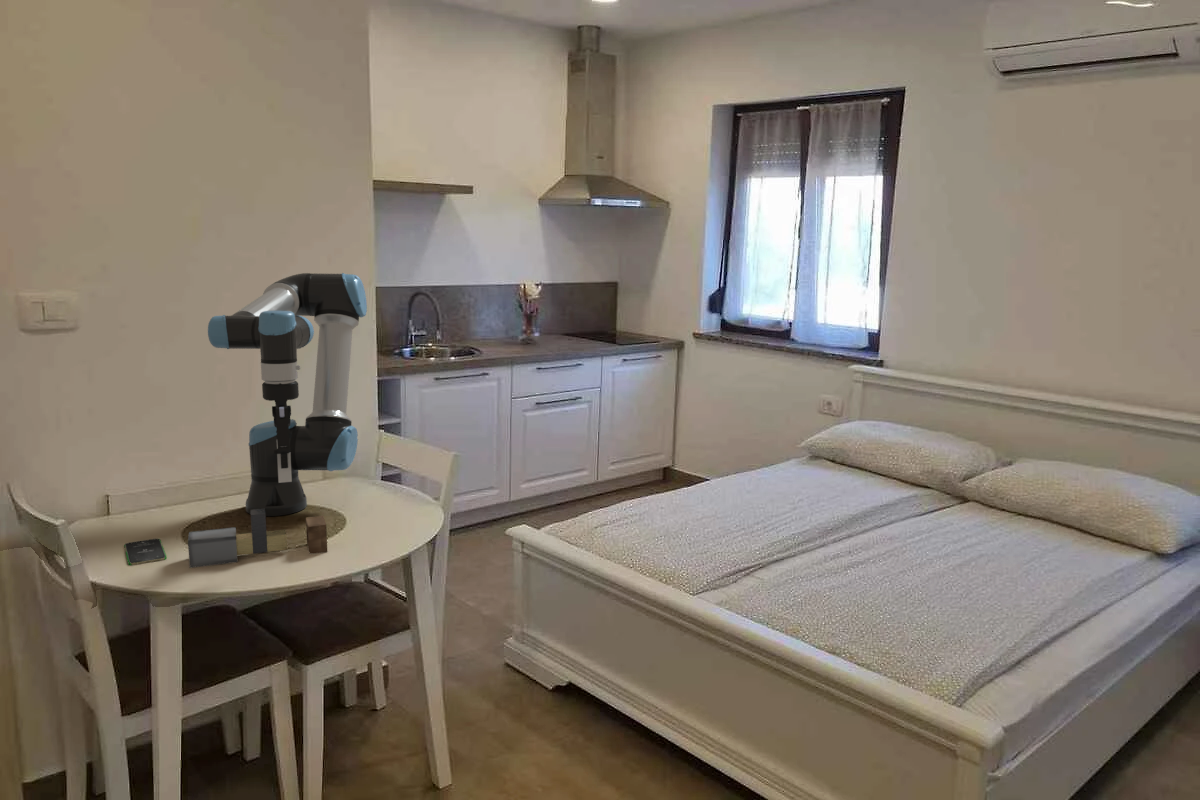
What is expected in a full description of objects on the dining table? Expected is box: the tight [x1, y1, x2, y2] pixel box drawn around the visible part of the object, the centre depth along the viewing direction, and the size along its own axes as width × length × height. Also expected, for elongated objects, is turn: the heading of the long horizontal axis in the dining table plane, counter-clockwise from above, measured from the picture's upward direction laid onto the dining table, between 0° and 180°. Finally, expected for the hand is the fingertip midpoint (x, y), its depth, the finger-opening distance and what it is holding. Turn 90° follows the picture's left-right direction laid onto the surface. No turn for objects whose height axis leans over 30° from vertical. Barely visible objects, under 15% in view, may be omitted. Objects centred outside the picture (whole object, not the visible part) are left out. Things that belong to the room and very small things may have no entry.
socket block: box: [305, 515, 328, 555], centre depth 198 cm, size 4×7×6 cm, turn 23°
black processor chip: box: [123, 538, 167, 566], centre depth 194 cm, size 8×1×15 cm
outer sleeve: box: [187, 527, 238, 569], centre depth 190 cm, size 10×6×6 cm
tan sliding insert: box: [236, 508, 288, 556], centre depth 192 cm, size 18×4×9 cm, turn 113°
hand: (284, 474), depth 193 cm, fingers open, 13 cm apart
